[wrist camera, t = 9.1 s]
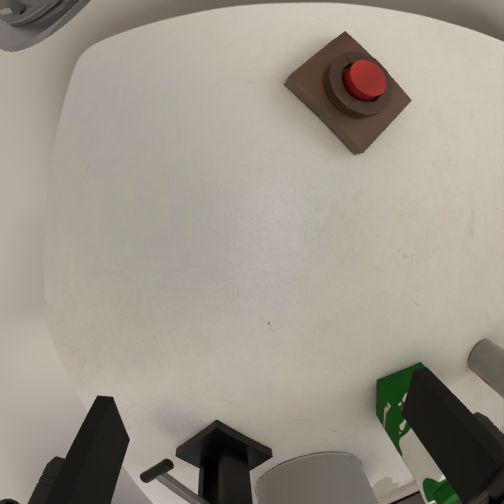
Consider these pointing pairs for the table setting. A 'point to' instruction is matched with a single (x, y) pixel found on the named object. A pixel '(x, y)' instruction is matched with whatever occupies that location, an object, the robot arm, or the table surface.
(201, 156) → the table surface
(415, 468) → the milk carton
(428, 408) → the robot arm
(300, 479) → the container
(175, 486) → the lever handle
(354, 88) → the red push button
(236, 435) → the black lever switch
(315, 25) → the table surface
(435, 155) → the table surface
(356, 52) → the control block
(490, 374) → the lotion bottle
